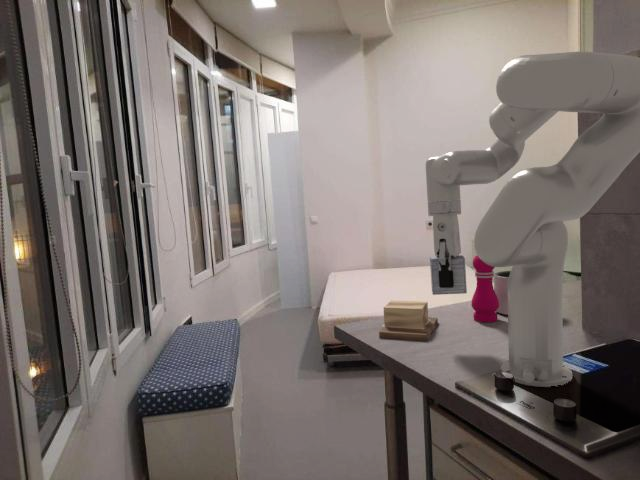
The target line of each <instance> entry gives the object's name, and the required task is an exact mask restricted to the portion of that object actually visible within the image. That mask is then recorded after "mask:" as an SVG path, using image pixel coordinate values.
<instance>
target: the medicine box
mask: <svg viewBox="0 0 640 480" xmlns="http://www.w3.org/2000/svg"><path fill="white" fill-rule="evenodd" d="M446 257H449V256H446ZM451 258H452V259H451V264H452V270H453V280H454V287H453V288H440V287H439V258H437V257H436V256H430V257H429V266H430V268H429V269H430V281H431V293H432V295H433V296H436V295H459V294H463V295H464V294H467V293H468V291H467V290H468V289H467V288H468V287H467V272H466V271H467V270H466V269H467V268H466V258H465V257H464V256H463V255H461V254H459V255H458V256H457V257H456V258H454V257H453V256H451ZM447 261H448V260H447Z"/></svg>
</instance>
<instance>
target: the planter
mask: <svg viewBox="0 0 640 480" xmlns="http://www.w3.org/2000/svg"><path fill="white" fill-rule="evenodd" d="M510 272H511V270H504V271H497V272H494V273H493V274H494V277H493V288H494V291H495V293H496V295H497V297H498V301H499V308H498V309H497V310H496V311H495V312H496V313H497V314H500V315H502V316H506V317H508V280H509V275H510Z"/></svg>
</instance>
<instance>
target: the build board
mask: <svg viewBox="0 0 640 480" xmlns="http://www.w3.org/2000/svg"><path fill="white" fill-rule="evenodd" d="M438 321H439V319H438V317H432V316H431V317H430V316H428V321H427V322H426V324H425V325H424V327H423V328H410V327H393V326H384V324H382V326H381V327H382V328H381V329H380V330H379V332H378V336H379V338H382V339H392V340H393V339H395V340H396V339H397V340H409V341H412V340H413V341H422V342H423V341H424V342H426V341H428V340H429V338H430V336H431V335H432V333H433V332H434V330H435V329H436V327H437V325H438V323H439V322H438Z"/></svg>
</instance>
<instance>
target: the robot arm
mask: <svg viewBox="0 0 640 480" xmlns="http://www.w3.org/2000/svg"><path fill="white" fill-rule="evenodd" d="M495 89H496V90H495V91H496V96H497V98H498V99H499V101H500V103H498V105H497V106H496V107H495V108H494V109H493V110H492V111H491V112H490V114H489V117H488V118H489V119H488V122H489V123H488V124H489V127H490V129H491V132H492V133H493V134H494V136H495V137H496V138H498V139H497V140H496V141H494V142H493V143H492V145H490V146H489V147H488V148H486V149H485V150H484V149H479V150H478V149H477V150H473V149H472V150H468V149H467V150H454V151H450V152H447V153H444V154H442V155H437V156H433V157H430V158H428V159H426V161H425V179H426V195H427V213H428V217H432V223H433V224H432V226H433V227H432V229H433V230H432V232H433V247H434V248H433V249H434V257H437V258H439V287H440V288H453V287H454V280H453V270H452V264H451V259H452V258H451V256H453V257H454V258H456V257H457V256H459V255H461V252H462V247H461V235H460V226H459V225H460V224H459V218H458V217H459V215H461V214H462V203H461V202H462V201H461V186H471V185H485V184H486V185H487V184H491V183H493V182H496V181H497V180H499V179H501V177H503V176H504V175H505V174H507V173H508V172H509V171H510V170H511V169H513V168H514V166H516V165H517V164H518V162H519V161H520V159H521V157H522V155H523V153H524V150H525V146H526V141H527V140H528V139H529V138H530V137H531V136H533V134H534V133H535V132H537V131H538V130H539V129H540V128H541V127H542V126H543V125H545V124H546V123H548V121H549V120H551V118H553V117H554V116H555V115H556V114H557V113H558V112H567V113H590V114H591V113H594V114H595V113H596V114H600V113H601V114H602V116H601V117H600V118H599V119H598V120H597V121H596V122H595V123H593V124H592V125H591V126H589V127H588V128H587V129H586V130H585V131H583V133H581V134H580V135H579V137H577V138H576V139H575V141H574V142H573V144H572V145H571V146H570V148H569V150H568V151H567V152H566V153H565V154H564V155H563V157H562V158H561V159H560V160H559V161H558V162H557V163H556V164H553V165H550V166H549V165H548V166H536V167H530V168H529V167H528V168H525V169H523V170H521V171H519V172H517V173H515V174H514V175H513V176H512V177H511V178H509V180H508V181H506V183H505V184H504V186H503V187H502V189H501V190H500V191H499V193H498V194H497V196H496V197H495V199H494V201H492V204H491V205H490V207H488V209H487V211H486V213H484V216H483V217H482V219H481V220H480V222H479V223H478V226H477V228H476V231H475V234H474V239H473V241H474V243H473V244H474V250H475V252H476V256H477V255H478V257H479V258H480V259H481V260H482V261H483V262H484V263H486V264H488V265H490V266H493V267H495V268H507V267H511V269H510V271H511V272H510V275H509V280H508V316H507V324H508V325H507V330H508V331H507V332H508V360H506V361H504V362H503V363H502V364H501V365H500V373H501V372H509V373H511V374H513V375H514V379H515V382H514V383H517V384H521V385H524V386H531V387H536V388H537V387H538V388H539V387H540V388H552V387H551V386H555V387H559V386H558V385H561V386H565V385H567V384H569V383H570V382H572V381H573V372H572V369H570V368H569V367H568V366H566V365H565V364H564V350H563V349H564V345H563V344H564V342H563V341H564V334H563V333H564V332H563V329H564V327H563V325H564V324H563V321H564V318H563V285H564V284H563V278H564V266H565V260H566V255H567V251H568V244H569V234H568V230H567V229H568V228H567V226H566V224H565V223H564V222H569V221H574V220H578V219H580V218H582V217H584V216H585V215H586V214H587V213H589V212H590V210H591V209H592V208H593V207H594V206H595V204H596V203H597V202H598V201H599V200H600V198H602V196H603V195H604V194H605V193H606V192H607V190H608V189H609V188H610V187H611V186H613V185H612V184H613V183H614V182H616V180H617V179H619V176H621V174H622V172H623V171H624V170H625V169H626V168H627V167H628V166H629V164H630V163H631V162H632V161H633V160H634V159H635V158H636V157H637V155H639V153H640V57H638V56H635V55H628V54H616V53H606V52H605V53H604V52H598V51H597V52H596V51H567V52H566V51H565V52H555V53H543V54H542V53H541V54H525V55H520V56H517V57H516V58H513V59H512V60H510V61H509V62H508V63H507V64H506V65H504V67H502V69H501V71H500V73H499V75H498V76H497V80H496V84H495ZM446 256H449V257H446ZM447 260H448V261H447ZM569 381H570V382H569ZM568 382H569V383H568ZM566 383H567V384H566ZM564 384H565V385H564Z"/></svg>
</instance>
